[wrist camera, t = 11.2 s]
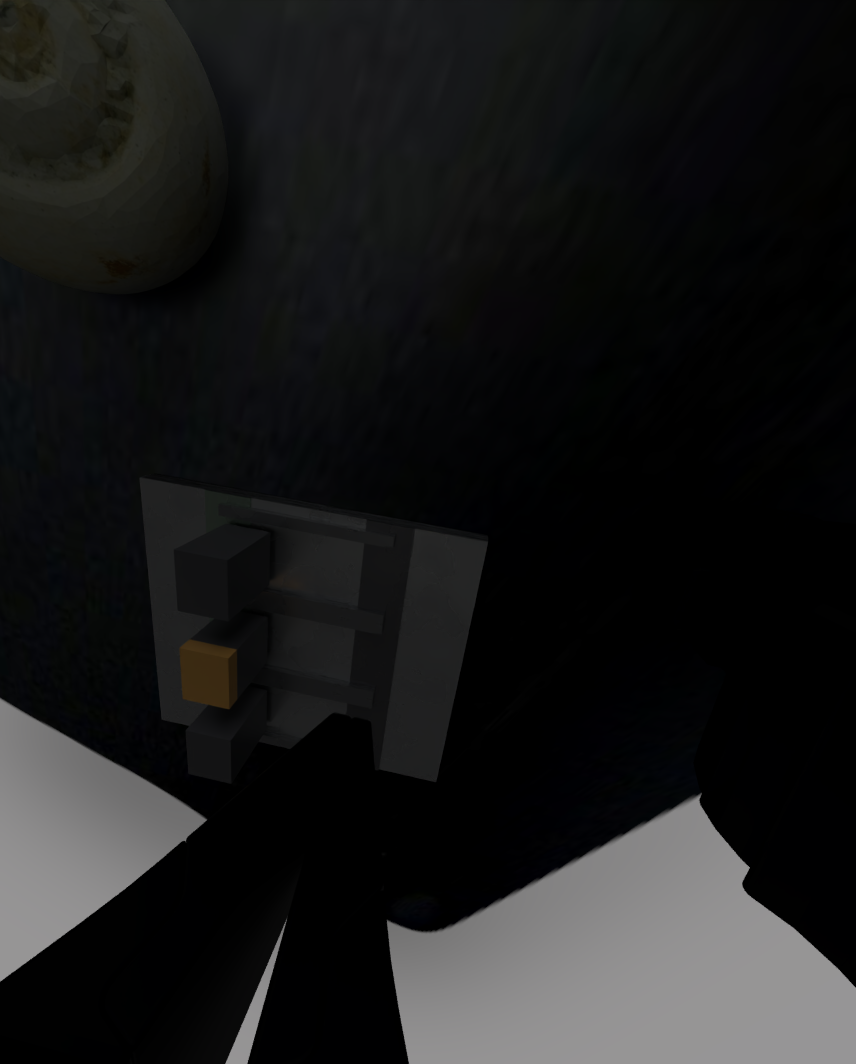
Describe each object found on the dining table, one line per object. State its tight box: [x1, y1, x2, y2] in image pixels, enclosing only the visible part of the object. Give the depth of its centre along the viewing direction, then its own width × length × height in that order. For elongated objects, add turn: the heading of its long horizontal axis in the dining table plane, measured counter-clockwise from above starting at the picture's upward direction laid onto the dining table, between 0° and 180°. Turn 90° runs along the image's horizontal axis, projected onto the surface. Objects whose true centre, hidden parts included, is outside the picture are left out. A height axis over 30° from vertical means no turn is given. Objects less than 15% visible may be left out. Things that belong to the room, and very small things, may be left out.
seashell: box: [0, 0, 228, 294], centre depth 14 cm, size 13×8×10 cm
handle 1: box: [174, 524, 270, 621], centre depth 19 cm, size 2×3×4 cm
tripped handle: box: [179, 611, 268, 709], centre depth 21 cm, size 2×3×4 cm
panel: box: [140, 474, 488, 782], centre depth 23 cm, size 18×16×1 cm
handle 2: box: [186, 686, 267, 784], centre depth 23 cm, size 2×3×4 cm
